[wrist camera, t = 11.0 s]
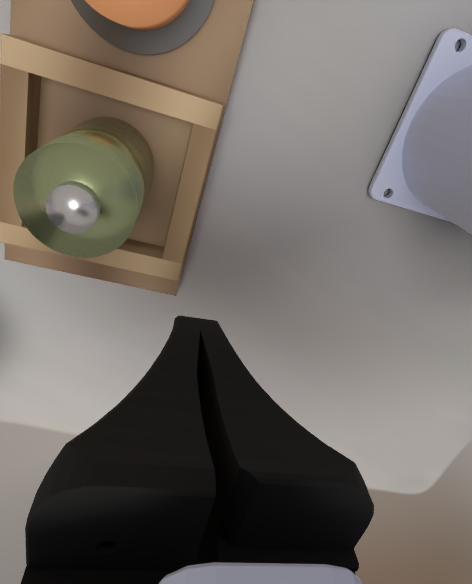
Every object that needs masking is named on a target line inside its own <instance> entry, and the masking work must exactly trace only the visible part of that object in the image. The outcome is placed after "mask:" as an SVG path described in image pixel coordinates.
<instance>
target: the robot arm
mask: <svg viewBox="0 0 472 584" xmlns="http://www.w3.org/2000/svg"><path fill="white" fill-rule="evenodd" d="M457 40H461V47H460V49H459V50H458V51H456V50H455V43H456V42H457ZM386 189H390V193H389V194H388V195H387V196H384V195H383V194H384V191H385V190H386ZM368 192H369V195H370V196H371V197H372V198H373V199H375V200H378V201H382V202H385V203H388V204H392V205H395V206H398V207H402V208H405V209H409V210H412V211H415V212H419V213H422V214H425V215H429V216H432V217H436V218H439V219H442V220H446V221H449V222H452V223H454V224H455V225H457V226H458V227H460V228H461V229H463V230H465V231H466V232H468V233H469V234H471V235H472V35H470V34H468V33H466V32H463V31H461V30H459V29H455V28H450V29H446V30H444V31H443V32H442V33H441V34H440V35H439V37H438V38H437V40H436V43H435V45H434V47H433V49H432V51H431V53H430V56H429V58H428V60H427V62H426V64H425V67H424V69H423V71H422V73H421V75H420V77H419V80H418V82H417V84H416V86H415V88H414V90H413V93H412V95H411V97H410V99H409V101H408V103H407V106H406V108H405V110H404V112H403V114H402V117H401V119H400V121H399V123H398V125H397V127H396V130H395V132H394V134H393V136H392V138H391V140H390V143H389V145H388V147H387V149H386V151H385V153H384V156H383V158H382V160H381V162H380V164H379V167H378V169H377V171H376V173H375V175H374V177H373V180H372V182H371V184H370V186H369V190H368ZM373 513H374V505H373V502H372V500H371V498H370V495H369V493H368V490H367V487H366V485H365V482H364V480H363V478H362V476H361V474H360V472H359V470H358V468H357V466H356V464H355V463H354V462H353V461H351V460H350V459H348V458H347V457H345V456H343V455H342V454H340V453H339V452H337V451H336V450H334V449H332V448H331V447H329V446H328V445H326V444H325V443H323V442H322V441H321V440H319V439H318V438H317V437H315V436H314V435H313V434H311V433H310V432H309V431H307V430H306V429H305V428H304V427H302V426H301V425H300V424H299V423H297V422H296V421H295V420H294V419H293V418H292V417H291V416H289V415H288V414H287V413H286V412H285V411H284V410H283V409H282V408H281V407H280V406H279V405H278V404H276V403H275V402H274V401H273V399H272V398H271V397H270V396H269V395H268V394H267V393H266V392H265V391H264V390H263V389H262V388H261V386H260V385H259V384H258V383H257V382H256V381H255V379H254V378H253V377H252V375H251V374H250V373H249V371H248V370H247V369H246V367H245V366H244V364H243V363H242V361H241V360H240V358H239V357H238V355H237V354H236V352H235V351H234V349H233V348H232V346H231V344H230V343H229V341H228V339H227V338H226V336H225V334H224V332H223V330H222V329H221V327H220V325H219V323H218V322H217V321H214V320H207V319H200V318H193V317H185V316H178V317H176V318H175V321H174V326H173V330H172V332H171V334H170V337H169V339H168V341H167V342H166V344H165V346H164V348H163V350H162V351H161V353H160V355H159V356H158V358H157V359H156V361H155V362H154V364H153V365H152V366H151V368H150V369H149V371H148V372H147V373H146V374H145V376H144V377H143V378H142V379H141V381H140V382H139V383H138V384H137V385H136V386H135V387H134V388H133V390H132V391H131V392H130V393H129V394H128V395H127V396H126V397H125V398H124V399H123V400H122V401H121V402H120V403H119V404H118V405H117V406H115V407H114V408H113V409H112V410H111V411H109V412H108V413H107V414H106V415H105V416H104V417H102V418H101V419H100V420H99V421H98V422H96V423H95V424H94V425H92V426H91V427H90V428H88V429H87V430H85V431H84V432H82V433H81V434H80V435H78V436H77V437H75V438H74V439H72V440H71V441H69V442H68V443H66V445H65V446H64V447H63V449H62V450H61V452H60V453H59V454H58V456H57V458H56V459H55V460H54V462H53V464H52V465H51V467H50V468H49V470H48V472H47V473H46V475H45V477H44V479H43V481H42V483H41V485H40V487H39V489H38V491H37V493H36V495H35V498H34V501H33V504H32V506H31V509H30V512H29V515H28V518H27V523H26V528H25V532H26V564H27V566H26V569H25V572H24V575H23V578H22V581H21V584H363V583H362V581H361V580H360V579H359V578H358V577H357V576H356V574H355V571H357V570H358V568H359V563H358V560H357V557H356V554H355V551H354V547H355V546H356V544H357V542H358V541H359V539H360V538H361V536H362V535H363V533H364V532H365V530H366V529H367V527H368V525H369V523H370V521H371V519H372V517H373Z"/></svg>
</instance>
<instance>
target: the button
mask: <svg viewBox="0 0 472 584" xmlns="http://www.w3.org/2000/svg"><path fill="white" fill-rule="evenodd" d="M85 1H86V2H87V3H88V4H89V5H90V6H91V7H92V8H93V9H95V10H96V11H97V12H98V13H100V14H101V15H103V16H105V17H106V18H108V19H110V20H112V21H114V22H116V23H118V24H121V25H123V26H125V27H128V28H131V29H135V30H142V31H147V30H155V29H159V28H162V27H164V26H166V25H168V24H170V23H171V22H173V21H174V20H175V19H177V18H178V17H179V16H180V15H181V14H182V12H183V11H184V10H185V8H186V7H187V5H188V4H189V2H190V0H85Z"/></svg>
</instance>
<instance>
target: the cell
mask: <svg viewBox="0 0 472 584" xmlns="http://www.w3.org/2000/svg"><path fill="white" fill-rule="evenodd" d="M153 174H154V159H153V155H152V152H151V149H150V147H149V145H148V143H147V141H146V140H145V138H144V137H143V136H142V135H141V133H140V132H139V131H138V130H136V129H135V128H134V127H133V126H131V125H130V124H128V123H126V122H124V121H122V120H120V119H116V118H112V117H96V118H92V119H89V120H87V121H85V122H83V123H81V124H80V125H78V126H76V127H74V128H73V129H71V130H69V131H68V132H66V133H64V134H62V135H61V136H59V137H57V138H56V139H54V140H52V141H50V142H49V143H47V144H45V145H43V146H42V147H40V148H38V149H37V150H35V151H34V152H32V153H31V154H29V155H28V156H27V157H26V158H25V159H24V160H23V162H22V163H21V165H20V166H19V168H18V170H17V172H16V175H15V179H14V185H13V196H14V203H15V206H16V209H17V212H18V214H19V216H20V218H21V220H22V222H23V223H24V225H25V226H26V228H27V229H28V230H29V231H30V232H31V234H32V235H33V236H34V237H35V238H37V239H38V240H39V241H40V242H41V243H43V244H44V245H46V246H47V247H49V248H51V249H53V250H54V251H57V252H59V253H62V254H65V255H68V256H73V257H79V258H92V257H98V256H102V255H105V254H108V253H110V252H112V251H114V250H115V249H117V248H118V247H120V246H121V245H122V244H123V243H124V242H125V241H126V240H127V238H128V237H129V235H130V234H131V232H132V229H133V227H134V225H135V222H136V220H137V217H138V215H139V212H140V209H141V207H142V204H143V202H144V199H145V197H146V194H147V192H148V189H149V187H150V184H151V181H152V178H153Z"/></svg>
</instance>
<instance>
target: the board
mask: <svg viewBox="0 0 472 584" xmlns="http://www.w3.org/2000/svg"><path fill="white" fill-rule="evenodd" d="M253 1H254V0H190V2H189V4H188V5H187V7H186V8H185V10H184V11H183V12H182V14H181V15H180V16H179V17H178V18H177V19H175V20H174V21H173V22H171V23H170V24H168V25H166V26H164V27H162V28H159V29H155V30H147V31H142V30H135V29H131V28H128V27H125V26H123V25H121V24H118V23H116V22H114V21H112V20H110V19H108V18H106V17H105V16H103V15H101V14H100V13H98V12H97V11H96V10H95V9H93V8H92V7H91V6H90V5H89V4H88V3H87V2H86V1H85V0H11V21H10V35H7V34H1V59H0V242H4V243H5V259H6V260H11V261H16V262H20V263H25V264H30V265H35V266H39V267H44V268H49V269H53V270H58V271H63V272H68V273H72V274H77V275H82V276H86V277H91V278H96V279H100V280H105V281H110V282H115V283H119V284H124V285H129V286H133V287H138V288H143V289H147V290H152V291H157V292H162V293H166V294H171V295H176V294H177V290H178V287H179V283H180V279H181V275H182V271H183V268H184V264H185V260H186V256H187V252H188V249H189V245H190V241H191V237H192V233H193V229H194V226H195V222H196V218H197V214H198V210H199V207H200V203H201V199H202V195H203V191H204V188H205V184H206V180H207V176H208V172H209V169H210V165H211V161H212V157H213V153H214V150H215V146H216V142H217V138H218V134H219V131H220V127H221V123H222V119H223V115H224V111H225V108H226V104H227V100H228V96H229V92H230V89H231V85H232V81H233V77H234V73H235V70H236V66H237V62H238V58H239V54H240V51H241V47H242V43H243V39H244V35H245V32H246V28H247V24H248V20H249V16H250V13H251V9H252V5H253ZM96 117H112V118H116V119H120V120H122V121H124V122H126V123H128V124H130V125H131V126H133V127H134V128H135V129H136V130H138V131H139V132H140V133H141V135H142V136H143V137H144V138H145V140H146V141H147V143H148V145H149V147H150V149H151V152H152V155H153V159H154V174H153V178H152V181H151V184H150V187H149V189H148V192H147V194H146V197H145V199H144V202H143V204H142V207H141V209H140V212H139V215H138V217H137V220H136V222H135V225H134V227H133V229H132V232H131V234H130V235H129V237H128V238H127V240H126V241H125V242H124V243H123V244H122V245H121V246H120V247H118V248H117V249H115V250H114V251H112V252H110V253H108V254H105V255H102V256H98V257H92V258H79V257H73V256H68V255H65V254H62V253H59V252H57V251H54V250H53V249H51V248H49V247H47V246H46V245H44V244H43V243H41V242H40V241H39V240H38V239H37V238H35V237H34V236H33V235H32V234H31V232H30V231H29V230H28V229H27V228H26V226H25V225H24V223H23V222H22V220H21V218H20V216H19V214H18V212H17V209H16V206H15V203H14V196H13V185H14V179H15V175H16V172H17V170H18V168H19V166H20V165H21V163H22V162H23V160H24V159H25V158H26V157H27V156H28V155H29V154H31V153H32V152H34V151H35V150H37V149H38V148H40V147H42V146H43V145H45V144H47V143H49V142H50V141H52V140H54V139H56V138H57V137H59V136H61V135H62V134H64V133H66V132H68V131H69V130H71V129H73V128H74V127H76V126H78V125H80V124H81V123H83V122H85V121H87V120H89V119H92V118H96Z"/></svg>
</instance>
